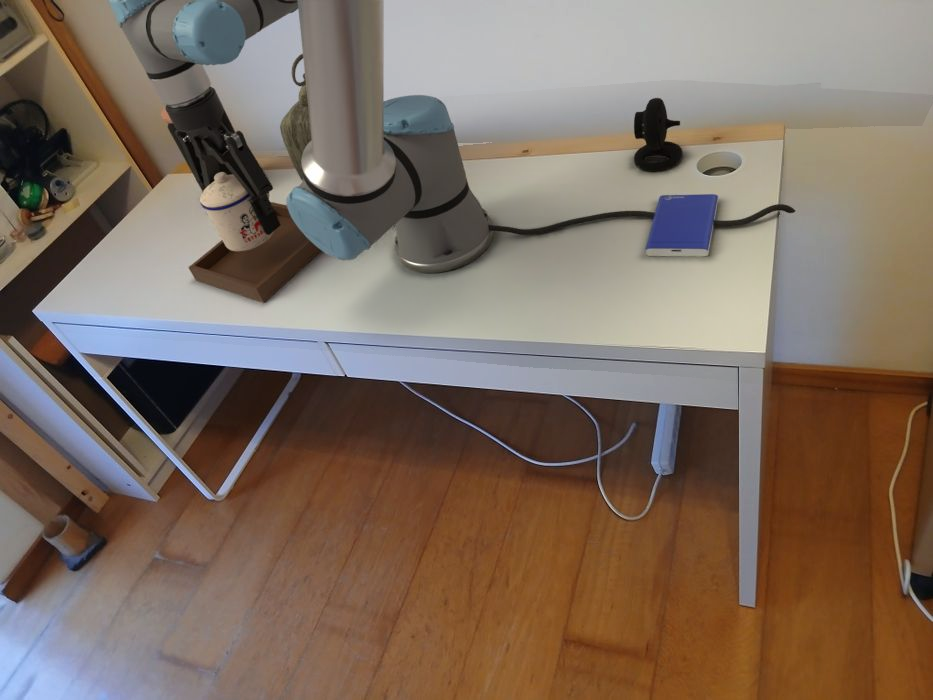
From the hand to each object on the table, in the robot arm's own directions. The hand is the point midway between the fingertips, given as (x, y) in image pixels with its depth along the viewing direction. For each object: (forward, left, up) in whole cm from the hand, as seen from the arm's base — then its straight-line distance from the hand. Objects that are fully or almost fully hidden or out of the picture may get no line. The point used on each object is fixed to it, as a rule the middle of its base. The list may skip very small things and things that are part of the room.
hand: (254, 224), depth 124 cm
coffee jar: (+26, -14, -6) cm, 30 cm away
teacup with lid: (0, 0, -2) cm, 2 cm away
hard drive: (-62, -25, -6) cm, 67 cm away
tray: (0, 0, -6) cm, 6 cm away
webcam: (-51, -41, -6) cm, 66 cm away
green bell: (-1, -20, -6) cm, 21 cm away
